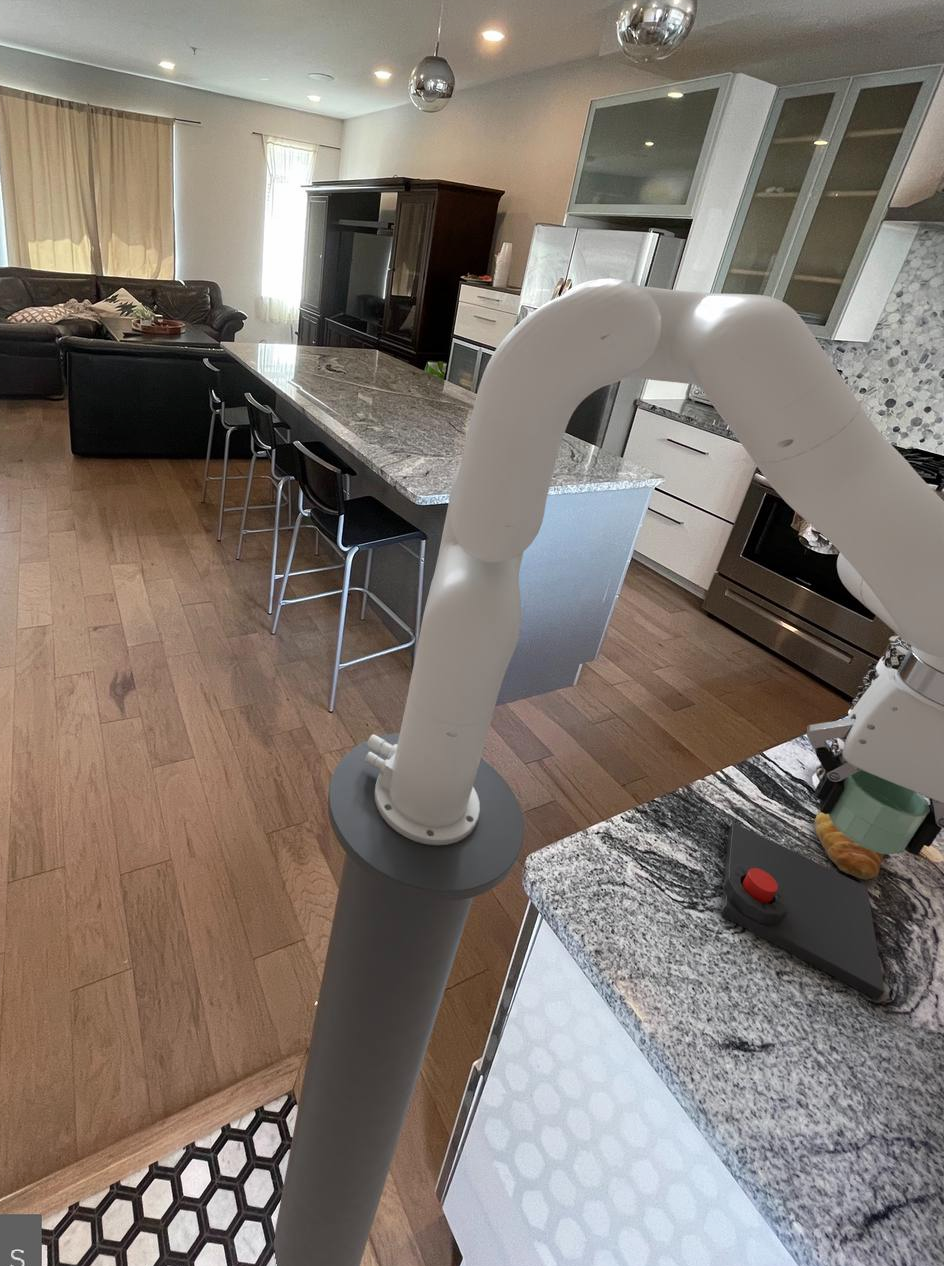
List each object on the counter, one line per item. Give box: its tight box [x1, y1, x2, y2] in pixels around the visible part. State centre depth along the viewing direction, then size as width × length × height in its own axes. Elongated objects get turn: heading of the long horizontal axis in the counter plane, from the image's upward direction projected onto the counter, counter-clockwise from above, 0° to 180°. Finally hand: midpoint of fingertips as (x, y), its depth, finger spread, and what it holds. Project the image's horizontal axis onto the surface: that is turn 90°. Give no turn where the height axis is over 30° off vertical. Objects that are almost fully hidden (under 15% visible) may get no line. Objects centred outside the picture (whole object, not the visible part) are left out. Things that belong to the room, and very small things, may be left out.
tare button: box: [743, 868, 778, 903], centre depth 67 cm, size 3×3×2 cm
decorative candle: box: [811, 635, 911, 789], centre depth 82 cm, size 9×9×25 cm
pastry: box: [814, 809, 884, 881], centre depth 77 cm, size 9×7×4 cm
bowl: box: [829, 770, 930, 855], centre depth 64 cm, size 7×7×6 cm
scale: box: [720, 822, 885, 1001], centre depth 69 cm, size 14×14×3 cm
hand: (865, 823), depth 65 cm, fingers closed on bowl, 6 cm apart
